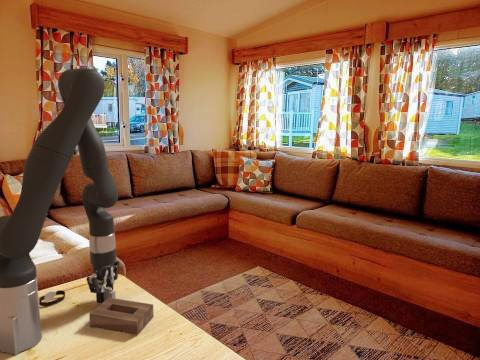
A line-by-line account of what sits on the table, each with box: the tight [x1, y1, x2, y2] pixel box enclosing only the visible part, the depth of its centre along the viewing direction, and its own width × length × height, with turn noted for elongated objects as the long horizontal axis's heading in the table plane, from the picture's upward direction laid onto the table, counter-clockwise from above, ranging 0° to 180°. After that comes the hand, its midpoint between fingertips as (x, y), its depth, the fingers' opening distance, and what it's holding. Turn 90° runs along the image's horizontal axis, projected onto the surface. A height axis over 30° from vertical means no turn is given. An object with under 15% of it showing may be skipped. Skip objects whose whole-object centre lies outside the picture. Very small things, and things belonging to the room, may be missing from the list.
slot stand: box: [89, 298, 155, 336], centre depth 101 cm, size 9×15×4 cm, turn 76°
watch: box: [39, 290, 66, 308], centre depth 111 cm, size 8×5×4 cm, turn 141°
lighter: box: [98, 280, 117, 301], centre depth 111 cm, size 7×2×8 cm, turn 67°
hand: (105, 298), depth 111 cm, fingers open, 4 cm apart
